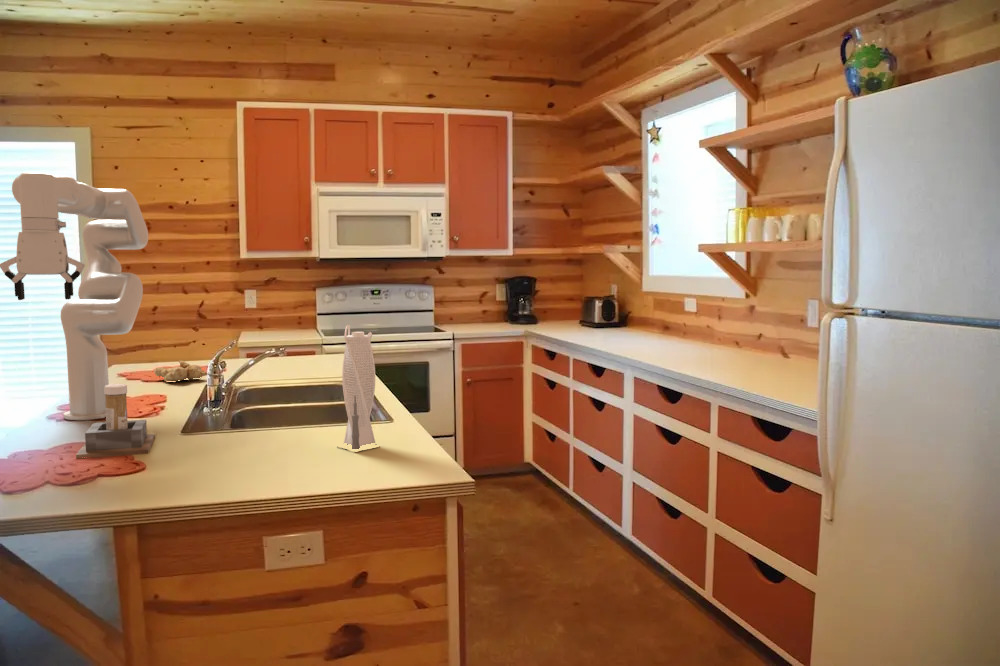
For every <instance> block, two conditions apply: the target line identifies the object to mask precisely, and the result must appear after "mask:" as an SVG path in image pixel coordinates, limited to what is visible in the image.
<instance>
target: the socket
mask: <svg viewBox="0 0 1000 666" xmlns="http://www.w3.org/2000/svg"><path fill="white" fill-rule="evenodd" d="M127 423H128V428H127V429H116V430H106V421H102V422H93V423H92V424H91V425H90V427H89V428H88V429H87V430H86V431H85V433H84V436H85V437H84V438H85V439H84V440H85V443H84V444H83V445H82V447H80V449H79V450H78V452H77V453H76V454H75V459H76V458H80V459H85V458H84V457H93V458H103V457H104V458H106V457H114V456H115V457H116V456H117V457H119V455H120V456H131V455H132V456H133V455H147V454H149V451H150V450H151V447H152V445H153V443H154V440H155V437H156V433H148V432H147V430H148V429H147V419H136V420H127ZM82 457H83V458H82Z"/></svg>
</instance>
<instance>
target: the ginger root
mask: <svg viewBox="0 0 1000 666" xmlns="http://www.w3.org/2000/svg"><path fill="white" fill-rule="evenodd" d="M178 362H179V366H176V367H174V366H173V367H169V368H165V367H161V366H160V367H159V366H158V367H155V368H154V371H153V372H154V375H155V376H156V377H158V376H162V377H164V379H163V381H164V382H165V381H178V380H180V381H178V382H182V381H181V380H184V379H186V378H188V379H193V378H200V377H201V378H203V377H205V376H208V375H207V371H205V370H203V369H202V367H201V366H200V365H198V364H197V365H196V364H190V363H188V362H185V361H184V360H182V359H179V360H178ZM201 378H200V379H201Z"/></svg>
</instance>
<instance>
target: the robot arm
mask: <svg viewBox="0 0 1000 666" xmlns="http://www.w3.org/2000/svg"><path fill="white" fill-rule="evenodd" d="M11 192H12V195H13V197H14V200H16V202H17V203H18V204H19V205H20V220H21V221H20V222H21V231H19V232H18V234H17V242H16V256H14V257H12V258H10V259H8V260H6V261H3V262H1V263H0V269H1V271H2V273H4V275H5V277H7V278H8V279H9V280H10V281H11V282H12V283H13V284H14V295H15V297H17V300H18V301H23V300H25V299H26V298H25V284H24V281H23V279H24V278H25V277H26V276H27V275H28V276H31V275H32V276H33V275H37V276H39V275H42V276H43V275H46V276H47V275H49V276H51V275H53V276H54V275H60V276H61V277H62V278H63V279H64V280H65V282H64V286H63V287H64V298H65V300H70V301H68V302H66V303H64V305H63V306H62V307H61V310H60V321H61V325H62V329H63V333H64V340H65V347H66V359H67V360H66V363H67V378H68V379H67V380H68V381H67V382H68V401H69V402H68V403H69V404H68V405H69V410H68V411H66V412H63V414H62V415H63V416H62V417H63V419H64V420H69V421H90V420H99V419H106V418H105V417H106V396H105V393H104V387H105V386H106V385H110V383H109V364H108V363H109V360H108V350H107V348H106V345H105V344H104V342H103V341H102V340H101V339H100V338H99V337H98V336H102V335H103V336H104V335H105V336H106V335H107V336H110V335H114V336H116V335H117V336H118V335H125V334H128V333H129V332H131V330H132V328H134V327H133V326H134V323H135V322H136V318H137V315H138V313H139V309H140V307H141V303H142V300H143V297H144V296H143V295H144V294H143V293H144V287H143V286H144V285H143V283H142V279H141V278H140V277H139V276H138V275H137V274H135V273H132V272H122V265H121V263H120V261H119V260H118V259H117V258H116V256H114V255H113V254H112V253H111V252H110V251H109V250H121V251H122V250H123V251H124V250H126V251H128V250H129V251H130V250H141V249H144V248H146V246H147V245H148V242H149V231H148V228H147V227H148V226H147V224H146V222H145V219H144V217H143V213H142V211H141V207H140V206H139V203H138V201H137V199H136V198H135V196H134V194H132V192H131V191H129V190H128V189H126V188H125V189H124V188H97V187H94V186H92V185H89V184H88V183H83V182H79V181H77V180H76V179H75V178H73V177H72V176H69V175H65V174H64V175H63V174H51V173H48V172H40V171H39V172H38V171H37V172H36V171H25V172H23V173H20V175H17V176H16V178H14V180H13V182H12V185H11ZM59 213H61V214H68V215H76V216H80V217H84V218H88V219H90V220H91V219H92V221H89V222H87V223H86V224H85V225H84V227H83V229H82V239H83V244H84V245H83V246H84V249H85V253H86V257H87V261H88V264H87V268H86V270H85V272H84V274H83V276H82V279H81V281H80V283H79V287H78V291H77V293H78V298H79V299H78V298H77V299H73V300H71V298H72V296H74V284H73V283H74V282H75V281H76V280H77V278H79V277H80V276H81V274H82V272H83V270H84V268H85V266H86V265H85V263H83V262H81V261H79V260H77V259H75V258H72V257H70V256H69V254H68V247H67V242H66V237H65V234H64V232H60V231H61V229H63V228H67V222H66V221H62V220H60V219H59ZM14 264H16V269H17V270H16V271H17V273H16V274H15V273H14V272H13V271H11V269H10V266H12V265H14ZM70 265H73V266H75V267H76V269H75V270H74V271H73V273H71V274H70V273H69V270H70Z"/></svg>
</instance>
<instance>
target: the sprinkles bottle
mask: <svg viewBox="0 0 1000 666" xmlns="http://www.w3.org/2000/svg"><path fill="white" fill-rule="evenodd" d="M104 393H105V396H106V418H105V422H106V430H116V429H127V428H128V423H127V421H128V407H127V406H128V405H127V403H128V402H127V393H128V385H127V384H126V383H111V384H110V383H109V385H106V386H105V387H104Z"/></svg>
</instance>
